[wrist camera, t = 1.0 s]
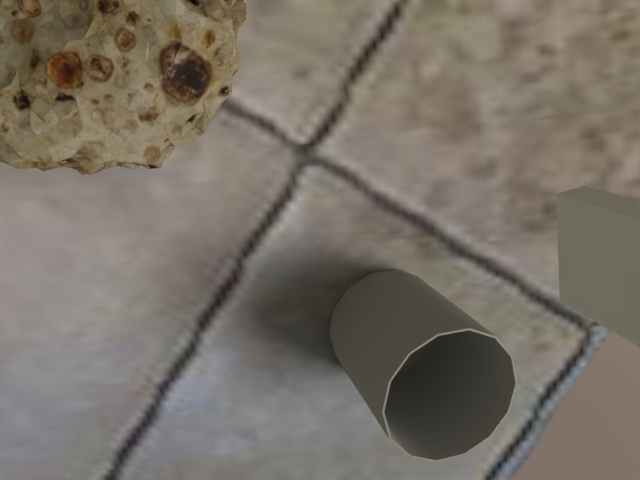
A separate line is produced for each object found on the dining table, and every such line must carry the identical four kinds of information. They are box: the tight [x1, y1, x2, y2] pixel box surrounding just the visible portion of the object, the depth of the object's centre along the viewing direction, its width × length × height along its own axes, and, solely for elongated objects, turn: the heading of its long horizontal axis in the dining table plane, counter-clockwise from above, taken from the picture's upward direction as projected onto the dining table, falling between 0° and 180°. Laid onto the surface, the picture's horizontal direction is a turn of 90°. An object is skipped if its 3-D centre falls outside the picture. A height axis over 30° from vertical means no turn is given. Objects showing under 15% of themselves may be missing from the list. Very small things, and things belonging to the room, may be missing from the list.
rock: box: [0, 0, 246, 175], centre depth 26 cm, size 21×14×10 cm
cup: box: [329, 269, 517, 462], centre depth 36 cm, size 8×8×10 cm
